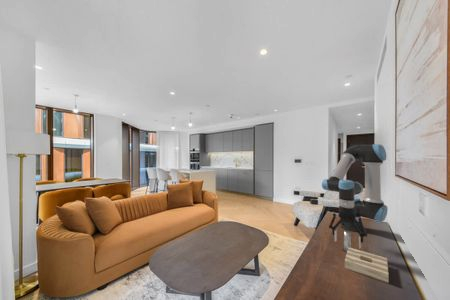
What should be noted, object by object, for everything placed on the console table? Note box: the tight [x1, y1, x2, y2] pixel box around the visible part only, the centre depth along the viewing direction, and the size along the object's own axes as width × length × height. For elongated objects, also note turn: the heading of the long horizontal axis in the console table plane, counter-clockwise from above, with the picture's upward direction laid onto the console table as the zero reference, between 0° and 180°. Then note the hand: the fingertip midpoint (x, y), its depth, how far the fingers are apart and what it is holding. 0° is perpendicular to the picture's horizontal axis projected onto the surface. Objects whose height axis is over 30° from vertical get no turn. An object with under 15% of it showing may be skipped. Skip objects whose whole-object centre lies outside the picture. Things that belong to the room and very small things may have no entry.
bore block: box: [344, 247, 390, 284], centre depth 88 cm, size 16×16×4 cm
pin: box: [343, 230, 352, 253], centre depth 103 cm, size 3×3×11 cm
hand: (347, 244), depth 103 cm, fingers open, 11 cm apart
